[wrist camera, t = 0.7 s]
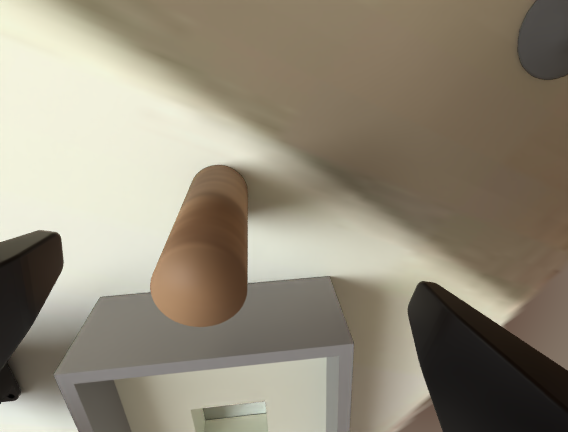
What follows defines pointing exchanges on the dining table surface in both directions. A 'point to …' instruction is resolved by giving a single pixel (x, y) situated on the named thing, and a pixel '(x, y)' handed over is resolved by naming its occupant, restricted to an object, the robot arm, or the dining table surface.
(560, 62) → the sundae
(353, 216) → the dining table surface
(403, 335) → the dining table surface
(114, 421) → the box
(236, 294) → the peg
